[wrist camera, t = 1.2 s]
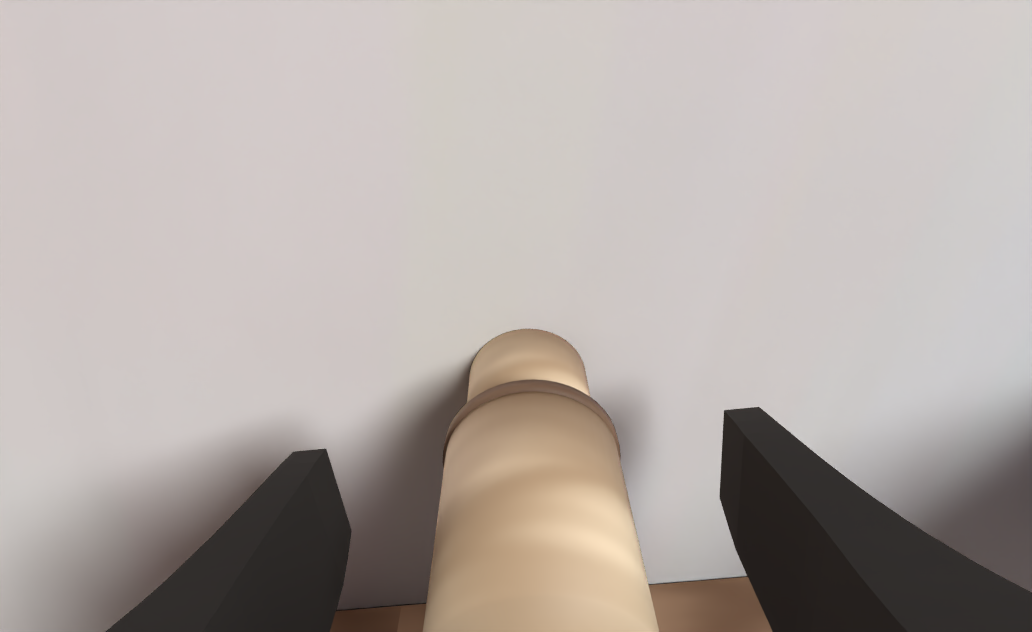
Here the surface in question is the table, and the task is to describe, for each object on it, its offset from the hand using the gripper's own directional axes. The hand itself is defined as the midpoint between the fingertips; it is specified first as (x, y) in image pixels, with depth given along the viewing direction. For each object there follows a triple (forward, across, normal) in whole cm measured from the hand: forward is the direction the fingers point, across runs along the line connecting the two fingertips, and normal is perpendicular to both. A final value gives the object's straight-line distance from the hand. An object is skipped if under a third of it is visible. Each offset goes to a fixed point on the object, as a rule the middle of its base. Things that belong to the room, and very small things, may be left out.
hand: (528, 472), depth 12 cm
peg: (+3, 0, 0) cm, 3 cm away
